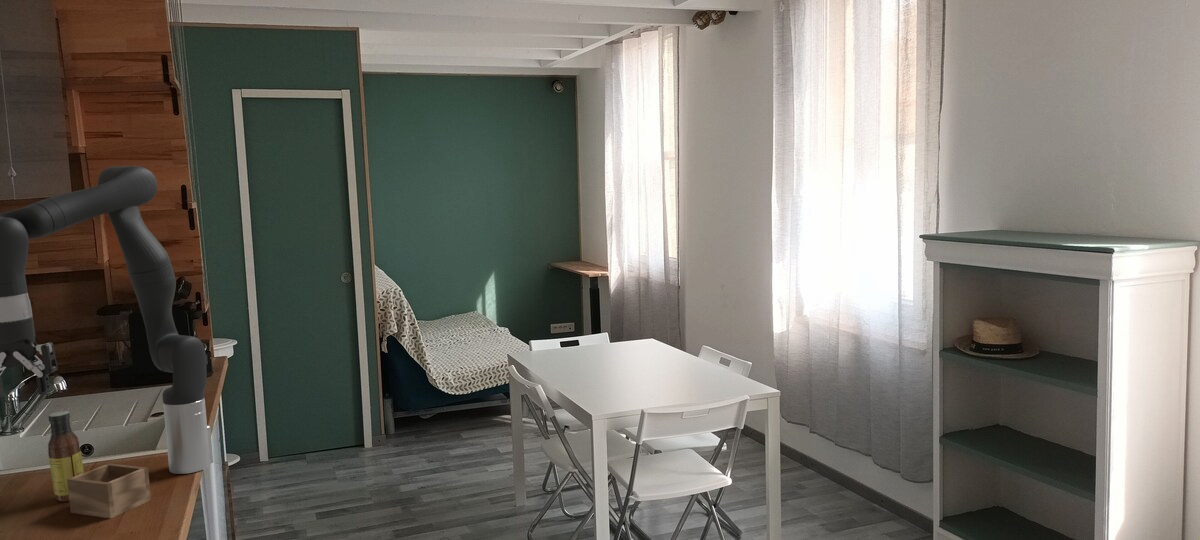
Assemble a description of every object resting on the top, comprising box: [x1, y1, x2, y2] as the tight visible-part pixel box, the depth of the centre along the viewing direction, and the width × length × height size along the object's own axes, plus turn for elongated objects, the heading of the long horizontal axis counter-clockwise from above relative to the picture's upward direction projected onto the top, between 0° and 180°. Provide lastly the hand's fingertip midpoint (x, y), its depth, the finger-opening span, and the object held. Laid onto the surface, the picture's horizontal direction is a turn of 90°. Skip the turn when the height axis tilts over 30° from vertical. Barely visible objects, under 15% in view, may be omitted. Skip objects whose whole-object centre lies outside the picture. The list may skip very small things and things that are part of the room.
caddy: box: [67, 462, 152, 519], centre depth 191 cm, size 10×12×8 cm
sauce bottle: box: [47, 410, 85, 502], centre depth 197 cm, size 7×6×20 cm
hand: (21, 395), depth 177 cm, fingers open, 8 cm apart
